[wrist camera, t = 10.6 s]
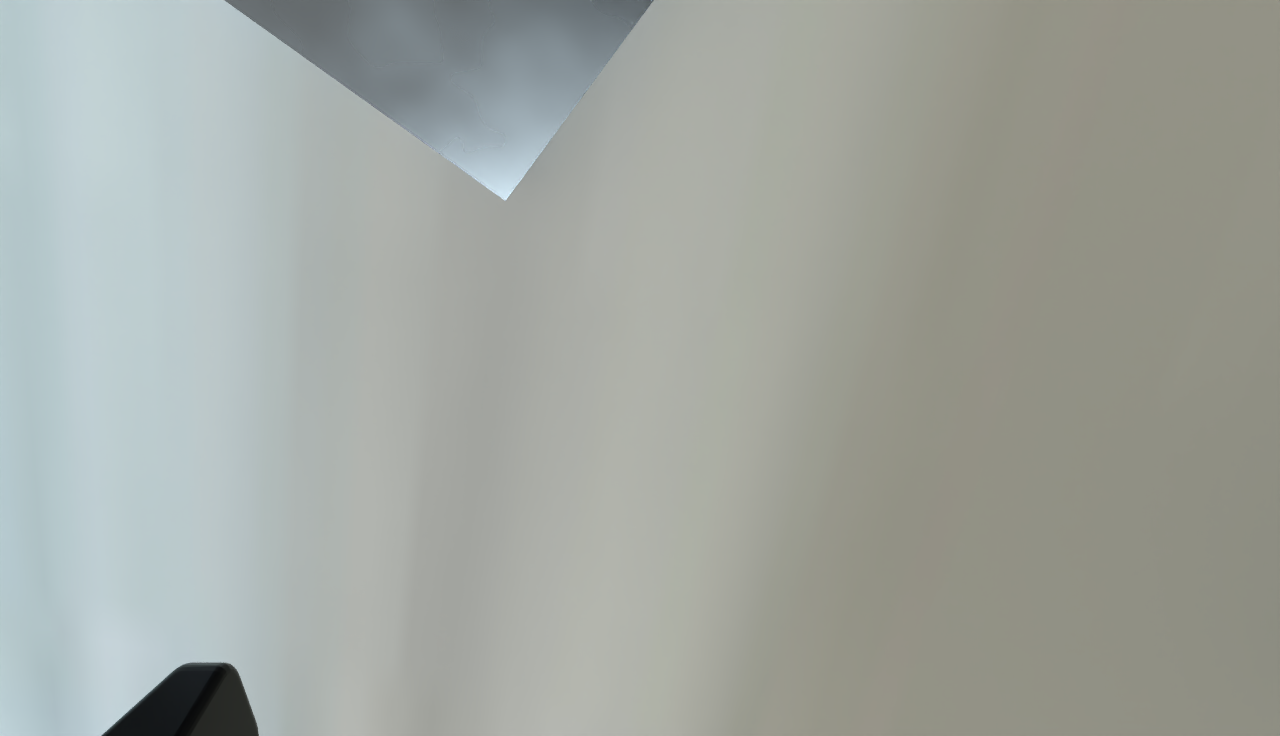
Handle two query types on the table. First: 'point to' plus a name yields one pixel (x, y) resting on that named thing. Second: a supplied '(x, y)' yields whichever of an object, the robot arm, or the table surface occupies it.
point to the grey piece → (461, 66)
